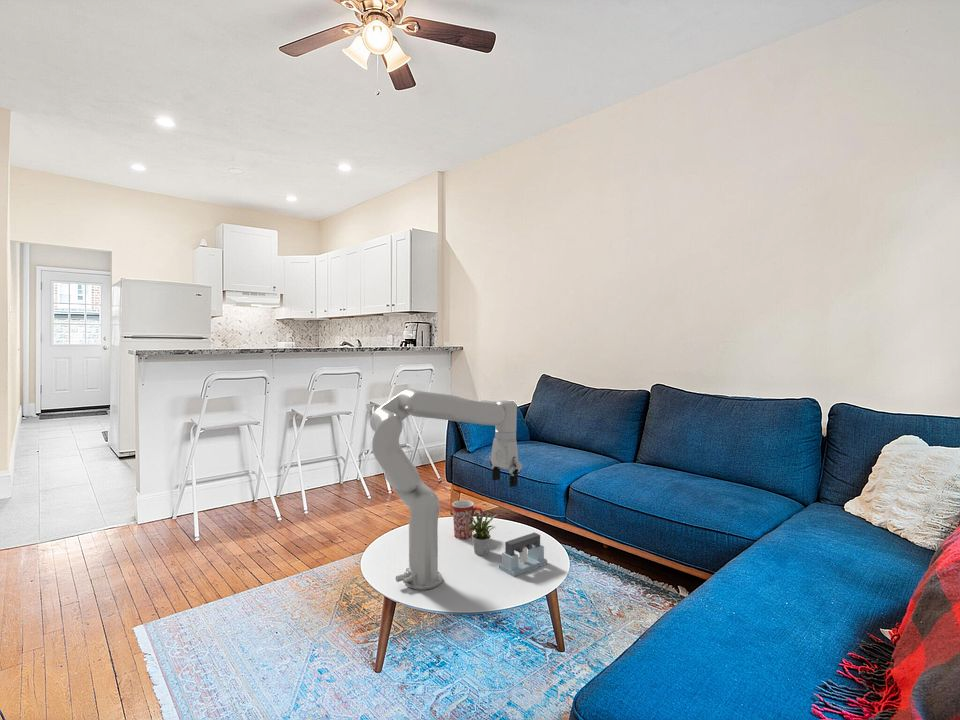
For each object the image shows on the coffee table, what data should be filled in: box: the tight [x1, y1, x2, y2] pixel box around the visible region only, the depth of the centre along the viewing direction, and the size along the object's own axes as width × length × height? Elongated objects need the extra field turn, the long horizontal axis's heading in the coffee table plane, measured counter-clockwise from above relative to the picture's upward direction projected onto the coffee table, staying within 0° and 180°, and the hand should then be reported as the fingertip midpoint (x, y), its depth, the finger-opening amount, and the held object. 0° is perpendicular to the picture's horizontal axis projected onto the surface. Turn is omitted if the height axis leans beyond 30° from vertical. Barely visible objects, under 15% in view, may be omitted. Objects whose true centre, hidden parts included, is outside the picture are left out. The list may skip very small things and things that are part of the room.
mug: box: [451, 499, 484, 540], centre depth 205 cm, size 13×9×14 cm
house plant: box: [464, 510, 499, 556], centre depth 189 cm, size 14×14×16 cm
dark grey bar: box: [504, 532, 541, 556], centre depth 178 cm, size 14×3×4 cm, turn 127°
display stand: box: [498, 544, 548, 577], centre depth 178 cm, size 16×8×7 cm, turn 127°
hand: (504, 483), depth 179 cm, fingers open, 9 cm apart
